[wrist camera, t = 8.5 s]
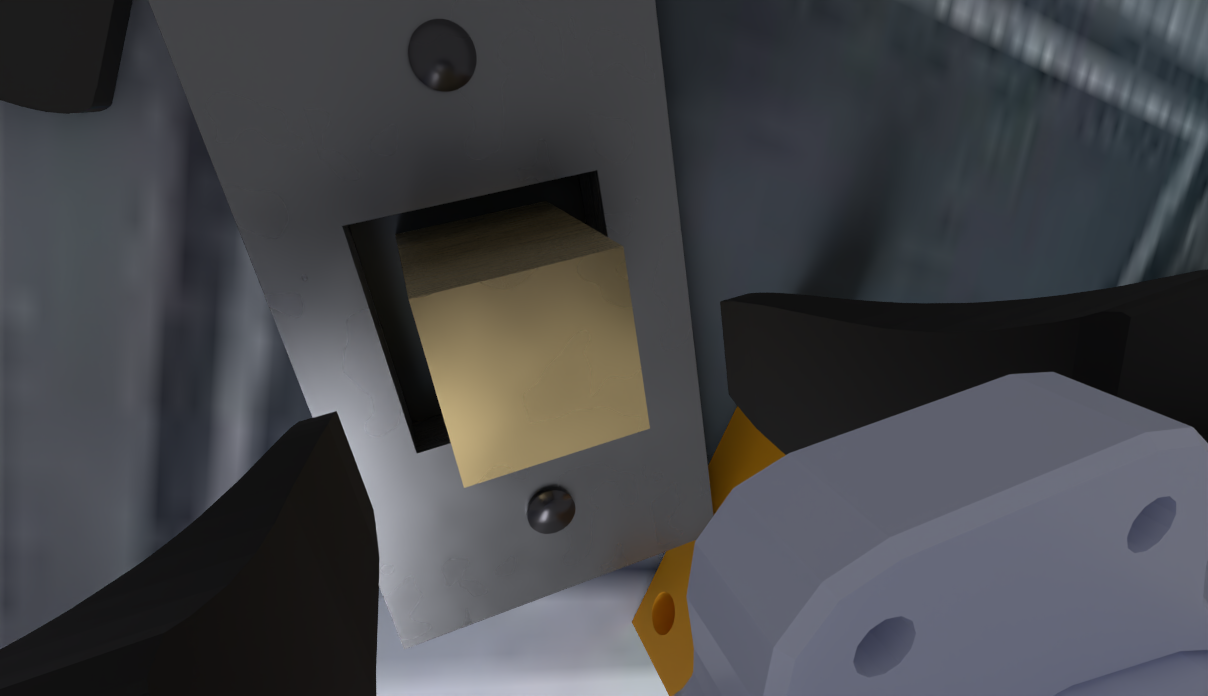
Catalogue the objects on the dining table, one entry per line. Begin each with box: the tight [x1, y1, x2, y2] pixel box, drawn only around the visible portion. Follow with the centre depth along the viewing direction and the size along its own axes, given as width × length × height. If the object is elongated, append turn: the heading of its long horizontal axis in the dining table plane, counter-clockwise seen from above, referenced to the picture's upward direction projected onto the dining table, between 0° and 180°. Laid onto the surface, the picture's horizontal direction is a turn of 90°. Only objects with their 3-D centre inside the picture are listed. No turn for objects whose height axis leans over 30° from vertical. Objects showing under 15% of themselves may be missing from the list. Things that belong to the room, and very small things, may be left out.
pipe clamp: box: [632, 406, 785, 696], centre depth 21 cm, size 12×4×6 cm, turn 155°
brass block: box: [395, 201, 650, 488], centre depth 15 cm, size 4×4×6 cm
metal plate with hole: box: [148, 0, 713, 649], centre depth 17 cm, size 10×18×2 cm, turn 9°
